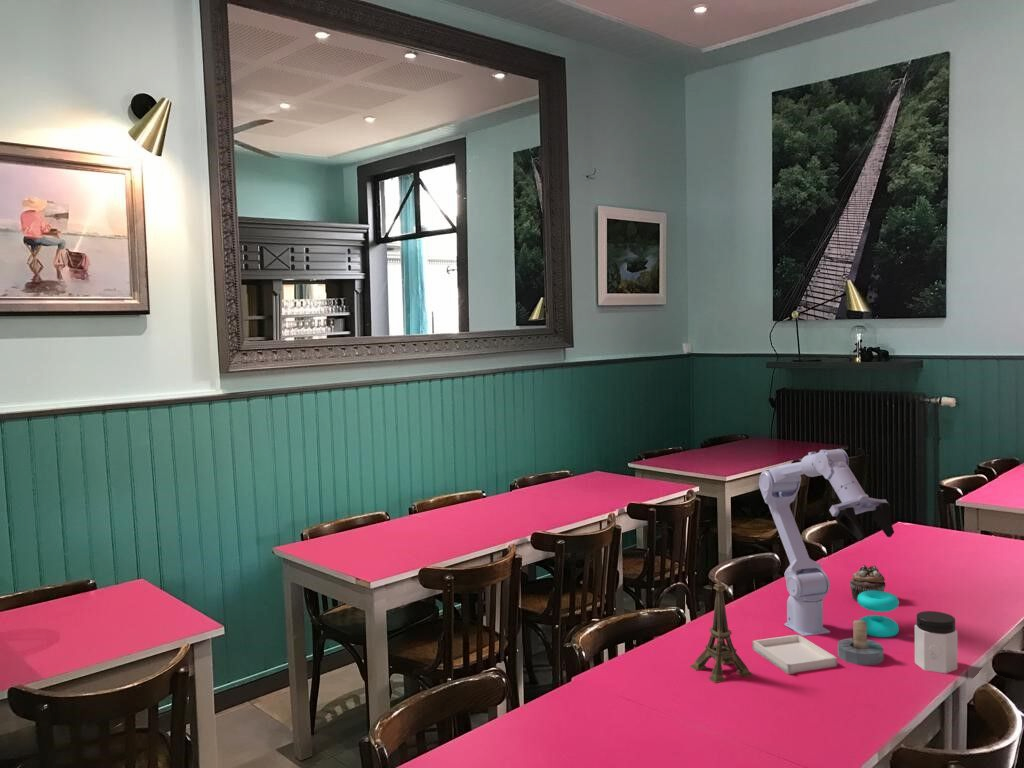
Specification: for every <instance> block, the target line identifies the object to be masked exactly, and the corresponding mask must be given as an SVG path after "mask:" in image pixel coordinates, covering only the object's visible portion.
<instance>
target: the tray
mask: <svg viewBox="0 0 1024 768" xmlns="http://www.w3.org/2000/svg"><path fill="white" fill-rule="evenodd" d="M752 650H753V651H754V652H756V653H757V654H758V655H760V656H761V657H762V658H764V659H766V660H767V661H768V662H769V663H771V664H773V665H774V666H775V667H777V668H779V669H780V670H781V671H783V672H784V673H786V674H787V675H794V674H796V673H799V672H806V671H814V670H820V669H826V668H834V667H838V657H837V656H835V655H834V654H832V653H830V652H828V651H827V650H825V649H823V648H821V647H820V646H819V645H817V644H815V643H813V642H812V641H810V640H809V639H807V638H805V636H802V635H801V634H799V633H797V634H791V635H784V636H778V637H776V636H775V637H770V638H763V639H762V638H761V639H755V640H752Z"/></svg>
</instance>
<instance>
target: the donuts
mask: <svg viewBox="0 0 1024 768" xmlns="http://www.w3.org/2000/svg"><path fill="white" fill-rule="evenodd" d="M857 601H858V602H857ZM857 601H856V602H857V603H858V604H859V606H861V607H862V608H864V609H866V610H868V611H871V612H878V613H879V612H880V613H885V612H891V611H894V610H896V609H897V608H898V607H899V605H900V601H899V599H898V597H897V596H896V595H895V594H893V593H890V592H887V591H885V590H884V591H876V590H871V591H864V592H861V593H860V594H859V595H858V597H857ZM859 620H861V621H865V622H866V623H867V636H870V637H876V638H892V637H894V636H896V635H898V633H899V631H900V627H899V625H898V622H897V621H896V620H893V619H892V618H890V617H887V616H884V615H876V614H875V615H874V614H873V615H872V614H870V615H865V616H862V617H861V618H859Z"/></svg>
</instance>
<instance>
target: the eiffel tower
mask: <svg viewBox="0 0 1024 768" xmlns="http://www.w3.org/2000/svg"><path fill="white" fill-rule="evenodd" d="M713 589H714V590H716V591H715V600H714V610H713V618H712V619H713V620H712V627H710V628H709V631H708V632H710V637H709V640H708V643H707V645H704V646H705V649H704V651H703V652H702V653H701V654H700V655H699V656H698V658H696V659H695V661H694V663H693V664H690V665H689V667H690V668H691V669H693V670H695V671H701V670H707V666H706V664H707V663H708V661H709V660H710V659H711V658H712V659H713V660H714V662H715V663H714V665H713V669H712V671H711V675H709V677H708V680H710V681H711V682H712V683H714V684H718V683H723V682H726V679H725V677H724V676H723V667H722V665H725V666H726V665H730V664H734V666H735V668H736V669H737V670H736V674H738V675H739V676H742V677H743V678H745V677H751V676H754V673H752V672H751V671H750V669H749V668H748V667H747V665H746V664H745V663H744V661H743V660H742V658H740V656H739V655H738V654H737V650H738V649H736V648H735V647H734V644H733V641H732V639H731V635H732V633H733V632H732V630H730V629H729V625H728V619H727V611H726V603H725V597H724V591H726V590H727V588H726V586H725V585H724V584H723V583H721V574H720V572H718V583H715V584H713Z"/></svg>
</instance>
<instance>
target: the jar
mask: <svg viewBox="0 0 1024 768" xmlns="http://www.w3.org/2000/svg"><path fill="white" fill-rule="evenodd" d="M914 664H916V665H917V666H918V667H920V668H921V669H922V670H923V671H926V672H927V671H928V672H934V673H941V674H948V673H950V672H954V671H956V670H958V629H956V618H955V617H954V616H953V615H951V614H948V613H945V612H941V611H933V610H925V611H920V612H918V613H917V614H916V624H914Z"/></svg>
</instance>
